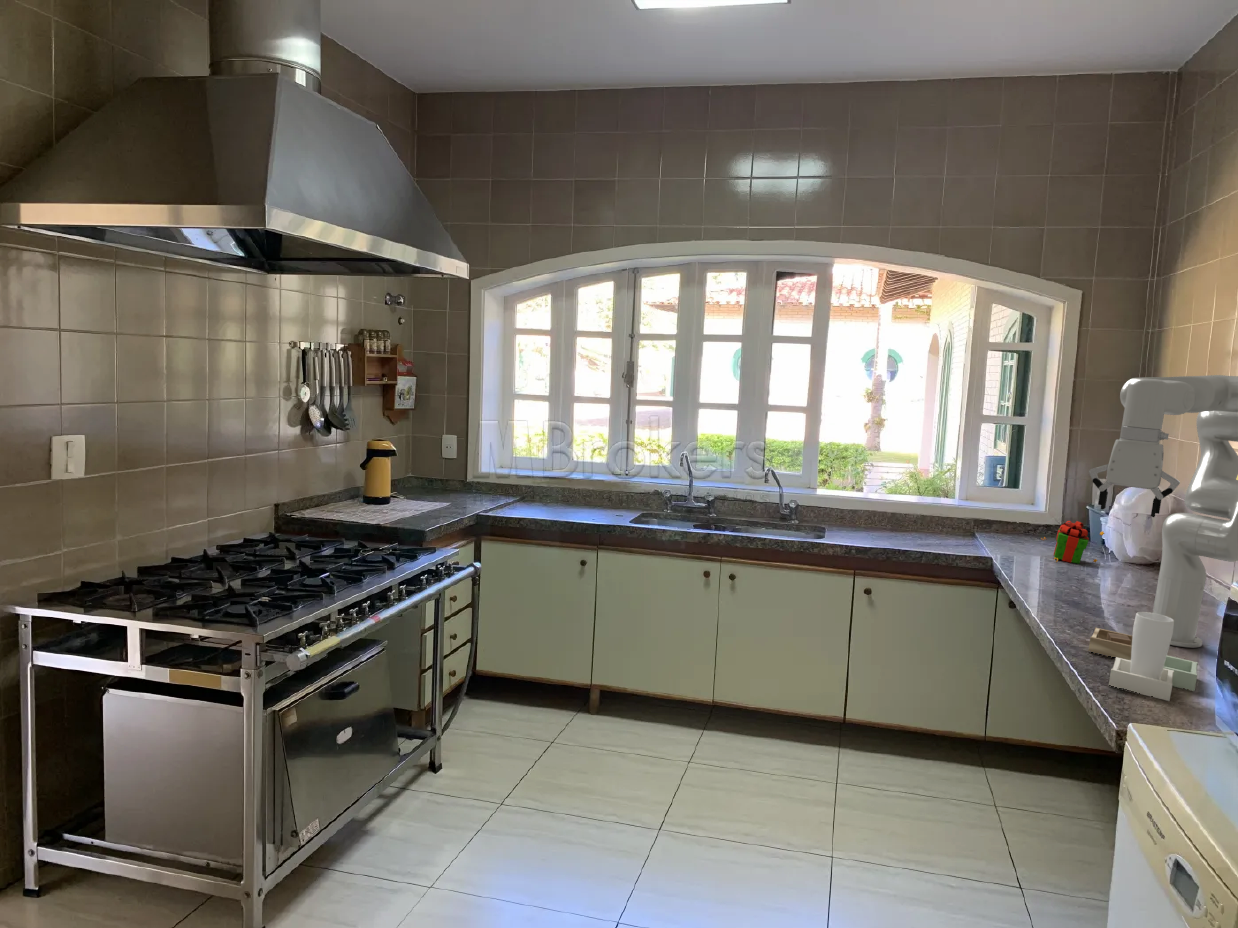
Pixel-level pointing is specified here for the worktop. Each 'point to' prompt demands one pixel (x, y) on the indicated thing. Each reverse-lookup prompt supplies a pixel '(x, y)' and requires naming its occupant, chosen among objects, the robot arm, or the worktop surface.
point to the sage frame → (1182, 672)
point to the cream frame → (1141, 680)
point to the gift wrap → (1071, 542)
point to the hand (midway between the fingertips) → (1127, 512)
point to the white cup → (1150, 644)
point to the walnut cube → (1118, 638)
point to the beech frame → (1109, 645)
